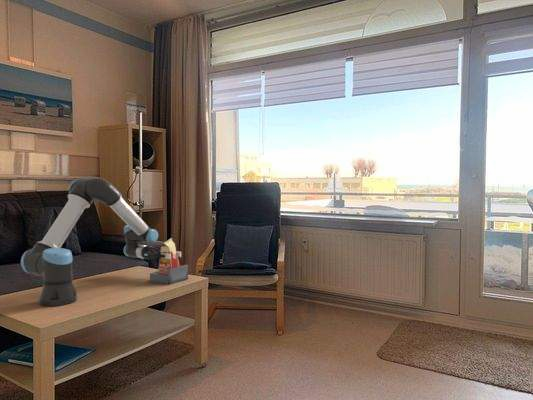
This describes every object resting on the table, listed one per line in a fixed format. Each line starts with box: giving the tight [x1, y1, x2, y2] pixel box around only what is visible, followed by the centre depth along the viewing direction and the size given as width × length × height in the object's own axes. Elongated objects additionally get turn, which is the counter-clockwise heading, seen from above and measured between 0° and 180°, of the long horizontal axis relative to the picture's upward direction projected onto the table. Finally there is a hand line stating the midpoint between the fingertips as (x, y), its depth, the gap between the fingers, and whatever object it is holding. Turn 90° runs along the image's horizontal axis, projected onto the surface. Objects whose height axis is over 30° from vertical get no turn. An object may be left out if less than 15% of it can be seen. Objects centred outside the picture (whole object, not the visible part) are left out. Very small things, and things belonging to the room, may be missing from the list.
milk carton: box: [158, 237, 180, 275], centre depth 219 cm, size 9×9×20 cm
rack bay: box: [149, 264, 189, 285], centre depth 220 cm, size 14×15×8 cm
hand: (175, 255), depth 217 cm, fingers closed on milk carton, 7 cm apart
